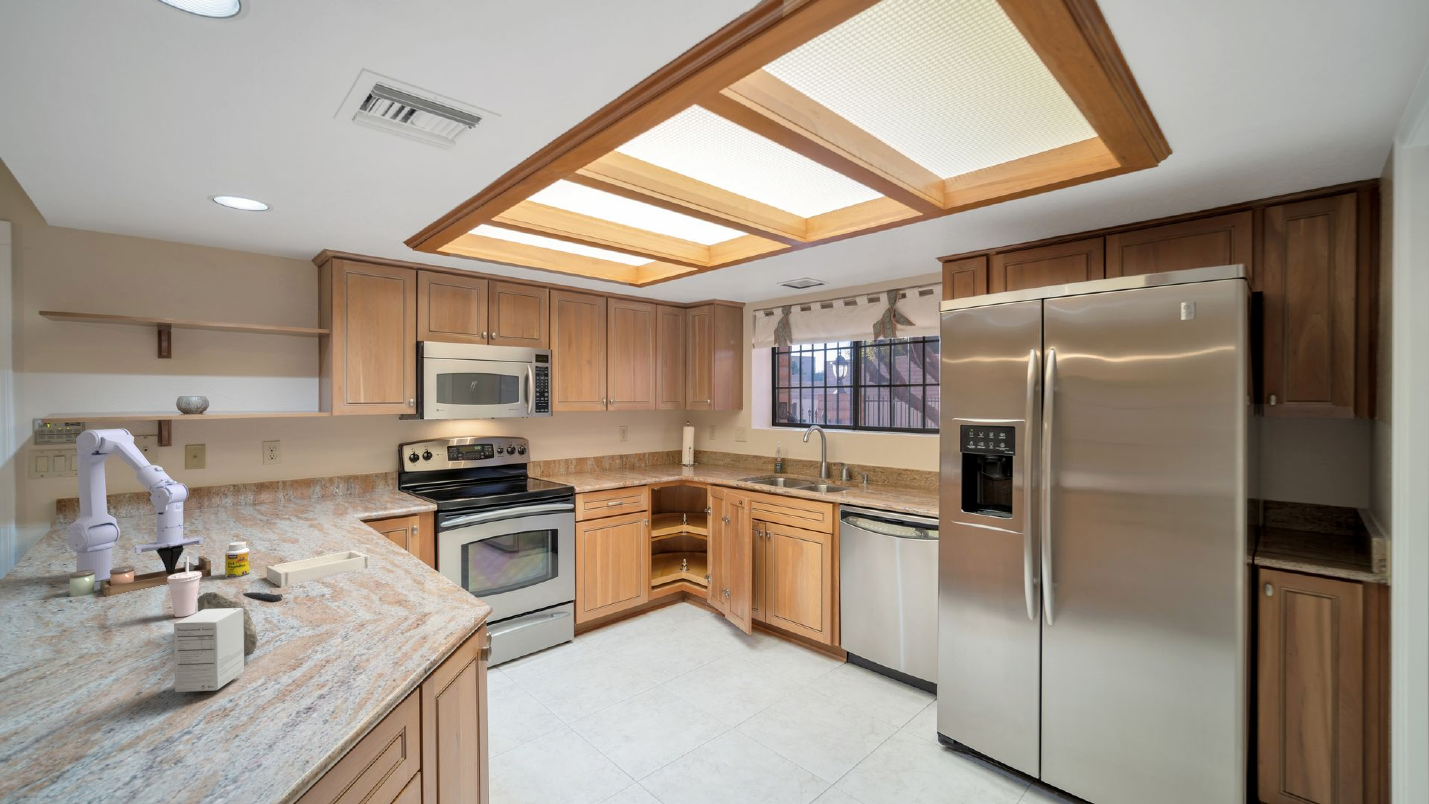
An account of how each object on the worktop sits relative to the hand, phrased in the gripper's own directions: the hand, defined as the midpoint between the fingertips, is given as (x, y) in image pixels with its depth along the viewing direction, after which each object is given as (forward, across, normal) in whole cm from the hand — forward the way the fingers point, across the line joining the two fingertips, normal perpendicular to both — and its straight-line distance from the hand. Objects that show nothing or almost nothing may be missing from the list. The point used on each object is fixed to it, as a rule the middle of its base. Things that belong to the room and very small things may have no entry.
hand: (170, 573), depth 171 cm
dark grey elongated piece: (+6, +11, -37) cm, 39 cm away
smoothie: (+3, -4, -38) cm, 38 cm away
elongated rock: (+3, -3, -69) cm, 69 cm away
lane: (+2, -3, 0) cm, 4 cm away
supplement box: (+3, -10, -88) cm, 89 cm away
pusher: (+2, +4, 0) cm, 4 cm away
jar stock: (+2, -10, 0) cm, 10 cm away
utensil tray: (+2, +29, -27) cm, 40 cm away
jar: (+2, -17, +4) cm, 18 cm away
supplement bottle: (+3, +13, -11) cm, 17 cm away
